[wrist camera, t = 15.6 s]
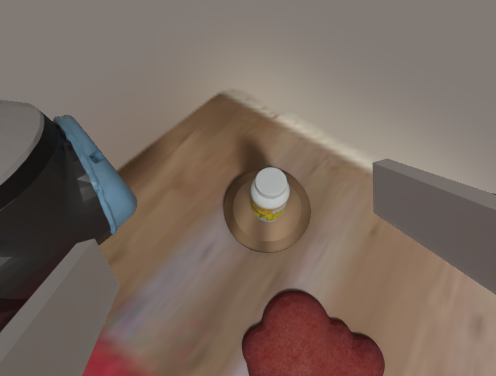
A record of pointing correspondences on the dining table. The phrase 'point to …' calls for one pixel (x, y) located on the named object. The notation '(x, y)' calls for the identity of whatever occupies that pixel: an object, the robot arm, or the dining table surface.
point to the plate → (263, 232)
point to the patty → (307, 342)
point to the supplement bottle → (269, 194)
